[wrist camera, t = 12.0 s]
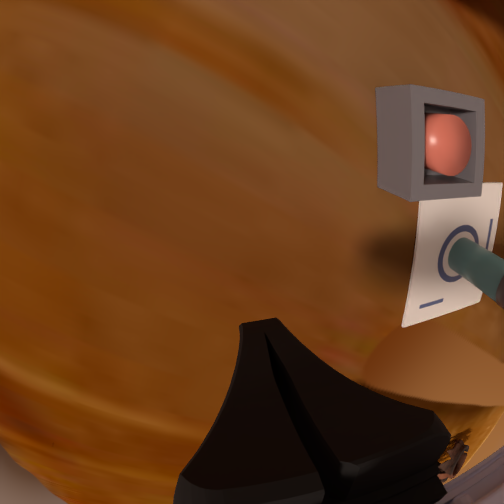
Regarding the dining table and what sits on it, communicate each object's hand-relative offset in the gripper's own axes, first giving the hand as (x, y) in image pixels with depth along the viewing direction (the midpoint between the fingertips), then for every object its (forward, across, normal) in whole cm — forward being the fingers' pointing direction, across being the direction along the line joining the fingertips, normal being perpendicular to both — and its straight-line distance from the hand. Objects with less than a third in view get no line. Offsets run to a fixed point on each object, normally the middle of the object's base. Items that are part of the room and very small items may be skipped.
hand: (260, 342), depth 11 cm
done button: (+9, -14, -6) cm, 18 cm away
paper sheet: (+10, -20, +4) cm, 23 cm away
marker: (+10, -20, +4) cm, 23 cm away
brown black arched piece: (+11, -34, +49) cm, 61 cm away
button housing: (+10, -14, -6) cm, 18 cm away
